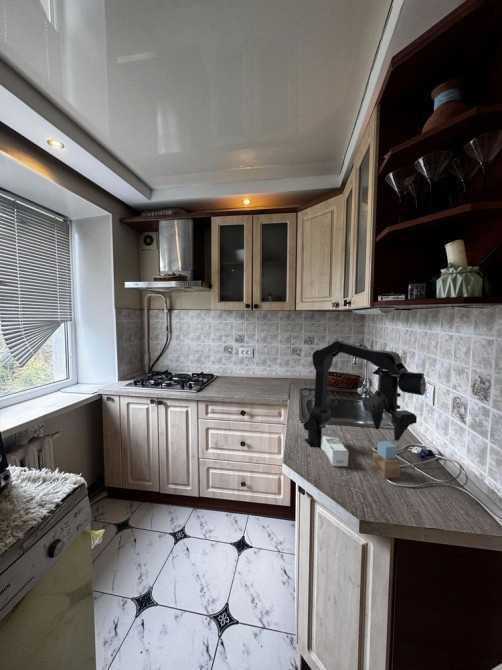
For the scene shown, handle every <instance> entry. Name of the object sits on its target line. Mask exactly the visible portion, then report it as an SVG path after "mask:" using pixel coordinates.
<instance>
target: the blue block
mask: <svg viewBox="0 0 502 670" xmlns="http://www.w3.org/2000/svg"><path fill="white" fill-rule="evenodd" d="M376 448H377V452H376V453H377V454H379V455H380V456H382V457H383V458H384V459H392V458H396V457H397V446H396V445H395V444H393V443H392V442H390V441H388V440H384V441H383V440H382V441H377V447H376Z"/></svg>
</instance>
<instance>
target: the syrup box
mask: <svg viewBox="0 0 502 670" xmlns="http://www.w3.org/2000/svg"><path fill="white" fill-rule="evenodd" d="M320 448H321V449H322V451H323V453H324V455H325V456H326V458H327V460H328V462H329V463H330V465H331V467H348V466H349V450H348V448H347V447H346V446H345V445H344V443H343V442H342V441H341V440H340V438H339V437H338V436H337V434H336V433H322V434H321V446H320Z"/></svg>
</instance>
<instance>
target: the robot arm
mask: <svg viewBox="0 0 502 670" xmlns="http://www.w3.org/2000/svg"><path fill="white" fill-rule="evenodd" d="M340 353H342V354H345V355H349V356H352V357H355V358H359V359H361V360H365V361H368V362H370V363H371V364H372V365H374V366H376V367H377V368H376V369H375V370H374V371H373V372H372V375H375V376H376V375H377V376H378V390H375V392H374V395H373V396H369V397H365V398H364V399H363V400H362V401H361V402H362V403H361V404H362V407H363V410H364V411H365V412H368V413H369V414H370V415H371V418H372V422H373V425H374V429H375V430H380V428H381V423H382V419H383V414H384V412H385V413H386V414H387V413H388V414H390V415H391V416H390V417H391V420H390V422H391V424H392V425H393V431H394V432H393V435H394V441H395V442H398V441H400V439H401V437H402V436H403V435H404V433H405V431H406V430H407V428H409V427H410V425H414V424H417V420H418V419H417V415H416V414H415V413H413V412H412V411H411V412H410V411H409V410H406V409H405V410H400V409H401V405H399V404H398V399H399V397H400V398H401V396H402V395H401V393H400V392H399V390H400V391H401V392H402V393H406V394H412V395H418V396H424V395H425V393H426V391H427V390H426V389H427V382H426V378H425V373H424V372H412V371H411V372H410V371H408V369H407V368H406V366H405V365H404V363H403V362H402V358H401V356H400V354H399V353H398V352H396V351H393V350H381V349H380V350H378V349H371V348H368V347H365V346H360V345H357V344H353V343H349V342H346V341H344V340H336V341H334V342H332V343H331V344H329V345H327V346H325V347H323V348H321V349H317V350H315V351H314V352H313V353H312V356H311V357H312V365H313V368H314V369H315V379H314V380H315V382H314V398H313V400H314V401H313V406H312V408H311V410H310V412H309V417H308V420H307V421H305V422H304V423H303V429H304V431H307V438H304V442H306V444H308V446H309V447H321V434H323V433H322V432H323V429H325V428H326V426H327V425H328V424H329V423H330V421H331V420H332V418H331V413H332V410H330V409H328V407H327V396H328V380H329V379H328V378H329V377H328V376H329V371H330V369H331V367H332V366H333V361H334V358H336V357H337V356H338V355H339V354H340Z"/></svg>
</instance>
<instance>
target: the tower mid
mask: <svg viewBox="0 0 502 670" xmlns="http://www.w3.org/2000/svg"><path fill="white" fill-rule="evenodd" d="M372 454H373V455H372V457H373V458H372V461H373V462H375V463H376V464H377V465H378V466H380V467H381V468H382V469H384V470H390V469H398V468H400V459H399V457H398V458H397V456H396V458H392V459H384V458H383V457H382V456H380V455H379V454H377V452H373V453H372Z"/></svg>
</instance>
